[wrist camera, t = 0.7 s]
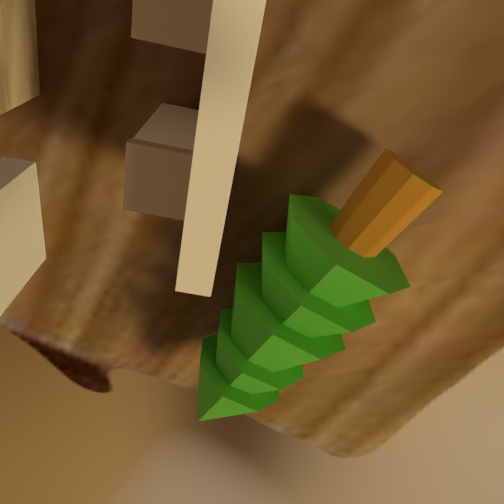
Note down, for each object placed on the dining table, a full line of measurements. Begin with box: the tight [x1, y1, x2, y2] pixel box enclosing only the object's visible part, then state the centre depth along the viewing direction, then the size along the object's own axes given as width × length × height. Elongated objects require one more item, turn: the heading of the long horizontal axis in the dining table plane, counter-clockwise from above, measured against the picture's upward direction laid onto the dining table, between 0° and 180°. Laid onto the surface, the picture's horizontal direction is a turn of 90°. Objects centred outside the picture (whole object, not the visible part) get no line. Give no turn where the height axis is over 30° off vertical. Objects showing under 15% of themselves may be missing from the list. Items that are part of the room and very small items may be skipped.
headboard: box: [123, 0, 266, 297], centre depth 25 cm, size 20×6×14 cm, turn 169°
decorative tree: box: [198, 149, 443, 421], centre depth 36 cm, size 11×12×30 cm
